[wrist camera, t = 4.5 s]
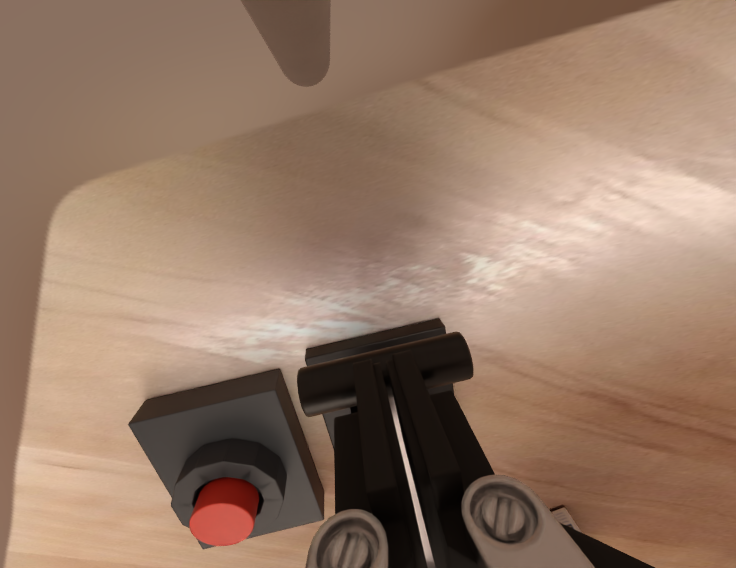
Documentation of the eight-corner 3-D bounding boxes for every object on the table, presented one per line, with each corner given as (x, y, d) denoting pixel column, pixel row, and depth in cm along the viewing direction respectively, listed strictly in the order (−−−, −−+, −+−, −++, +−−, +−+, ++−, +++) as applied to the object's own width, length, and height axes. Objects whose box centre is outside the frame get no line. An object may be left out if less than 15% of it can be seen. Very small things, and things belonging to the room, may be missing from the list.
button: (190, 484, 21) (178, 512, 19) (248, 470, 21) (241, 497, 19) (211, 523, 22) (202, 552, 21) (266, 510, 22) (262, 538, 21)
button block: (145, 399, 23) (109, 448, 19) (280, 368, 23) (270, 410, 19) (212, 520, 27) (193, 578, 23) (324, 492, 27) (323, 546, 24)
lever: (299, 350, 11) (293, 401, 9) (449, 315, 11) (479, 357, 9) (375, 580, 16) (383, 649, 14) (478, 555, 16) (502, 618, 14)
